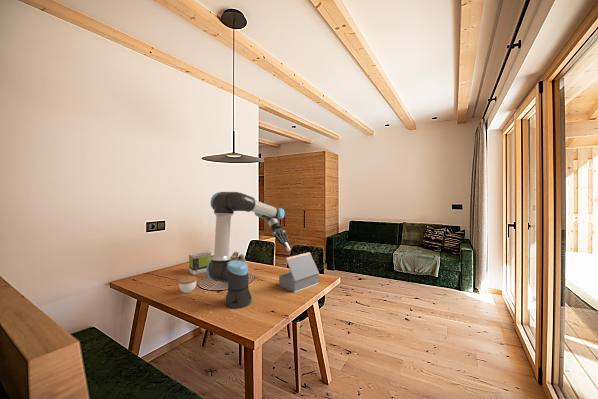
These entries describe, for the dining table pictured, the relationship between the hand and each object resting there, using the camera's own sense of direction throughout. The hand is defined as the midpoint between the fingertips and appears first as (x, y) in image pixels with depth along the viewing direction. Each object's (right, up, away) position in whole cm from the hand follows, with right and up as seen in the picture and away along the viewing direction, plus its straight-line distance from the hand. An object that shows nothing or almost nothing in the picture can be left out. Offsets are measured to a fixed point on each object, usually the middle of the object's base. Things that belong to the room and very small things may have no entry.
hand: (289, 250), depth 181 cm
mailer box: (+7, -22, -8) cm, 24 cm away
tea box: (-73, -22, +23) cm, 79 cm away
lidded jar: (-66, -23, -17) cm, 72 cm away
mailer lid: (+9, -8, -11) cm, 17 cm away
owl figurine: (-42, -22, +18) cm, 50 cm away
